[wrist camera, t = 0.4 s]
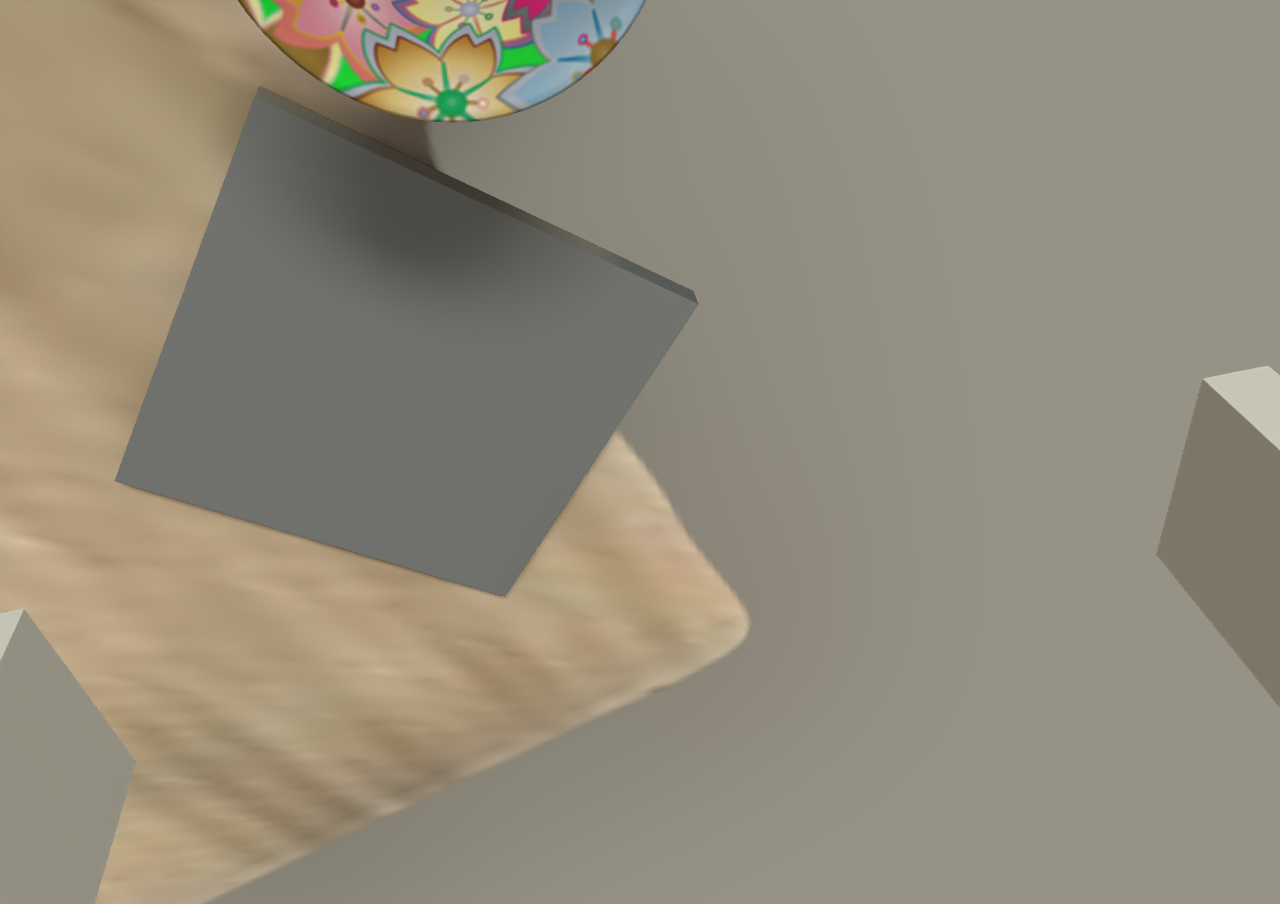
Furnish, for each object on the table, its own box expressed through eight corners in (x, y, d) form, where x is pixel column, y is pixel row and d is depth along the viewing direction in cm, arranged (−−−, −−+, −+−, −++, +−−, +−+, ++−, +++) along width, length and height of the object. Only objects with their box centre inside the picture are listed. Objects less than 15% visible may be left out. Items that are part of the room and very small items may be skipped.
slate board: (121, 464, 38) (114, 481, 38) (259, 86, 31) (254, 97, 30) (503, 580, 45) (504, 596, 44) (693, 291, 38) (698, 303, 37)
